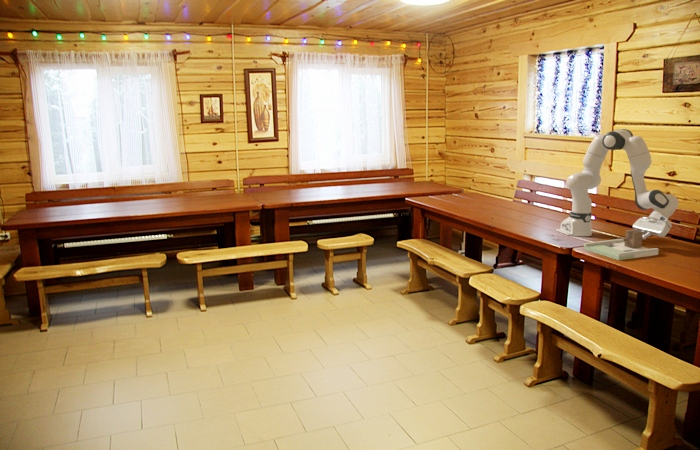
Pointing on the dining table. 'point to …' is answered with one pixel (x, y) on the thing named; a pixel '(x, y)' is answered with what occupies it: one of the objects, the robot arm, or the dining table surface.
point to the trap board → (618, 249)
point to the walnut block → (633, 238)
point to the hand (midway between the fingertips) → (642, 238)
